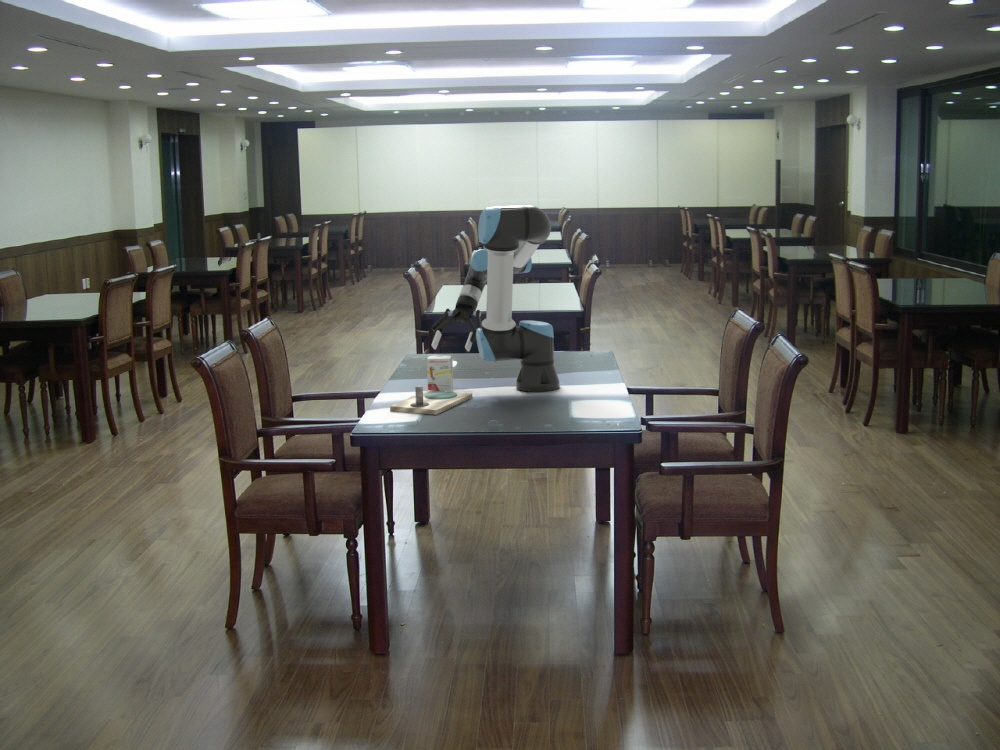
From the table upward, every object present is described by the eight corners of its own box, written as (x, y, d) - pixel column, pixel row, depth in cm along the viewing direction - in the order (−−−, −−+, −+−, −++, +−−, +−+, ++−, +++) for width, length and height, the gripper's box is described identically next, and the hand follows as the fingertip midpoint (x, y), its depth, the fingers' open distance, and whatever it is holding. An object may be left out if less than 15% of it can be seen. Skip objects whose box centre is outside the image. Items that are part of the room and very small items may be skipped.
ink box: (427, 391, 366) (425, 358, 363) (429, 388, 370) (428, 355, 368) (451, 391, 365) (450, 357, 362) (453, 388, 369) (452, 355, 367)
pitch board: (472, 397, 354) (471, 375, 352) (436, 414, 332) (435, 391, 330) (428, 394, 361) (427, 372, 360) (390, 410, 339) (388, 387, 338)
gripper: (502, 307, 381) (485, 356, 371) (442, 305, 392) (424, 352, 382) (495, 295, 375) (477, 343, 365) (434, 293, 386) (415, 340, 376)
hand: (450, 348), depth 373 cm, fingers open, 13 cm apart
